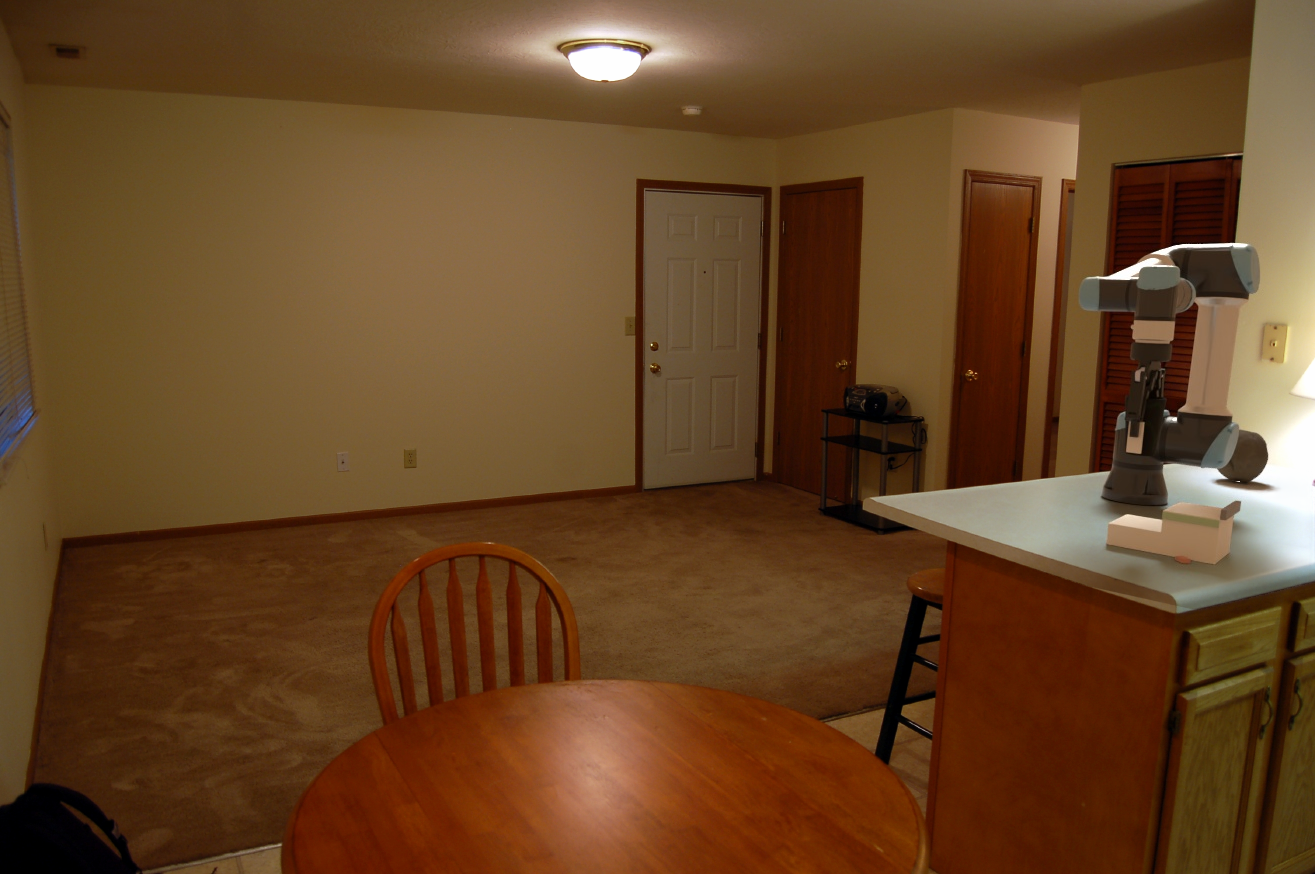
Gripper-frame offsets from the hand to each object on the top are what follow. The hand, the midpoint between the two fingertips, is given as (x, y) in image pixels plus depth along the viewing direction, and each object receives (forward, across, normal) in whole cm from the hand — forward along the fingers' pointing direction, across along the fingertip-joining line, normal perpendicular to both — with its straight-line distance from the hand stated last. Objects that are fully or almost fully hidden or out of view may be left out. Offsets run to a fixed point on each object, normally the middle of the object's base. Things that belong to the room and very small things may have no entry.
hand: (1140, 450), depth 194 cm
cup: (+1, 0, 0) cm, 1 cm away
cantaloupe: (+19, -96, -3) cm, 98 cm away
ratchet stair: (+19, +3, +8) cm, 21 cm away
